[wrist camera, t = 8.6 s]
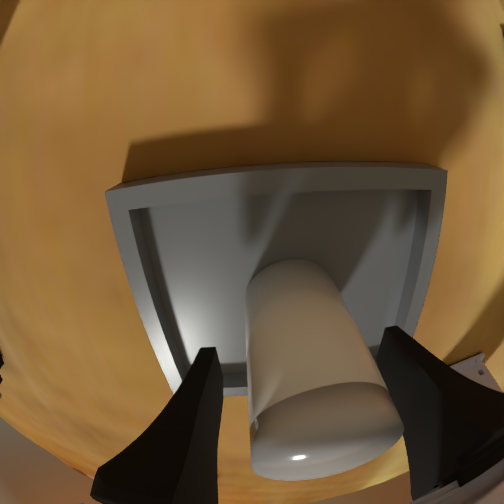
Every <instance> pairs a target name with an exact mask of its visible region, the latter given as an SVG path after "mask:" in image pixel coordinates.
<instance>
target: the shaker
mask: <svg viewBox="0 0 504 504" xmlns="http://www.w3.org/2000/svg"><path fill="white" fill-rule="evenodd" d="M244 306H245V333H246V358H247V382H248V405H249V426H250V447H251V466H252V470H253V471H254V472H255V473H256V474H258V475H260V476H262V477H265V478H269V479H275V480H288V481H292V480H308V479H315V478H321V477H326V476H330V475H334V474H338V473H341V472H344V471H347V470H350V469H353V468H355V467H358V466H360V465H362V464H364V463H367V462H369V461H371V460H372V459H374V458H376V457H378V456H379V455H381V454H383V453H384V452H385V451H387V450H388V449H389V448H391V447H392V446H393V445H394V444H395V443H396V442H397V441H398V440H399V439H400V437H401V436H402V434H403V432H404V426H403V423H402V421H401V418H400V416H399V414H398V411H397V409H396V407H395V404H394V402H393V400H392V398H391V395H390V393H389V391H388V389H387V386H386V384H385V382H384V380H383V378H382V376H381V373H380V371H379V369H378V367H377V365H376V363H375V361H374V359H373V357H372V354H371V352H370V350H369V348H368V346H367V344H366V342H365V340H364V338H363V336H362V334H361V332H360V330H359V328H358V326H357V324H356V322H355V320H354V318H353V316H352V314H351V313H350V311H349V309H348V307H347V305H346V303H345V301H344V299H343V297H342V295H341V294H340V292H339V290H338V288H337V286H336V284H335V282H334V281H333V279H332V277H331V275H330V274H329V273H328V272H327V271H326V270H325V269H324V268H323V267H322V266H320V265H319V264H317V263H315V262H312V261H309V260H304V259H288V260H282V261H279V262H276V263H273V264H271V265H269V266H267V267H266V268H264V269H263V270H261V271H260V272H259V273H258V274H257V275H256V276H255V277H254V278H253V279H252V280H251V282H250V283H249V285H248V287H247V289H246V293H245V298H244Z"/></svg>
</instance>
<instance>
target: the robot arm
mask: <svg viewBox="0 0 504 504" xmlns="http://www.w3.org/2000/svg"><path fill="white" fill-rule="evenodd" d="M484 357H485V354H484V353H480V354H478V355H476V356H474V357H471V358H469V359H466V360H464V361H461V362H459V363H456V364H454V365H451V366H448V365H447V364H445V363H444V362H442V361H441V360H440V359H438V358H437V357H436V356H434V355H433V354H432V353H430V352H429V351H428V350H427V349H425V348H424V347H423V346H422V345H421V344H419V343H418V342H417V341H416V340H415V339H413V338H412V337H411V336H410V335H408V334H407V333H406V332H405V331H404V330H402V329H401V328H400V327H399V326H397V325H395V326H390V327H385V329H384V333H383V337H382V340H381V344H380V347H379V350H378V354H377V357H376V362H377V365H378V369H379V371H380V373H381V376H382V378H383V380H384V382H385V384H386V386H387V389H388V391H389V393H390V395H391V398H392V400H393V402H394V404H395V407H396V409H397V411H398V414H399V416H400V418H401V421H402V423H403V426H404V432H403V437H404V441H405V446H406V450H407V456H408V463H409V470H410V480H411V481H410V482H411V496H412V499H413V501H412V502H410V503H407V504H504V393H503V392H502V390H501V388H500V387H499V385H498V384H497V382H496V381H495V379H494V378H493V376H492V375H491V373H490V372H489V370H488V369H487V367H486V366H485V364H484V363H483V361H482V360H483V359H484ZM222 405H223V374H222V370H221V366H220V362H219V358H218V354H217V349H216V347H201V348H200V349H199V351H198V353H197V355H196V357H195V359H194V361H193V363H192V365H191V367H190V369H189V371H188V372H187V374H186V376H185V378H184V379H183V381H182V383H181V384H180V386H179V388H178V389H177V391H176V392H175V394H174V395H173V396H172V398H171V399H170V401H169V402H168V404H167V405H166V406H165V408H164V409H163V410H162V412H161V413H160V414H159V415H158V417H157V418H156V419H155V420H154V421H153V422H152V423H151V425H150V426H149V427H148V428H147V429H146V430H145V431H144V432H143V433H142V434H141V435H140V436H139V437H138V438H137V439H136V440H135V441H133V442H132V443H131V444H130V445H129V446H128V447H126V448H125V449H124V450H123V451H122V452H120V453H119V454H118V455H117V456H115V457H114V458H112V459H111V460H109V461H108V462H106V463H105V464H104V465H102V466H100V467H99V468H98V470H97V472H96V475H95V478H94V482H93V485H92V489H91V493H90V496H91V497H92V498H93V499H95V500H96V501H98V502H100V503H102V504H218V485H217V447H218V437H219V429H220V421H221V413H222ZM80 504H84V503H80Z"/></svg>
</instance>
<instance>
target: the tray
mask: <svg viewBox="0 0 504 504" xmlns="http://www.w3.org/2000/svg"><path fill="white" fill-rule="evenodd" d="M446 184H447V170H444V169H441V168H438V167H436V166H433V165H430V164H421V163H404V162H379V161H318V162H291V163H273V164H259V165H247V166H235V167H225V168H216V169H207V170H199V171H191V172H184V173H177V174H170V175H163V176H157V177H151V178H145V179H139V180H134V181H128V182H123V183H120V184H118V185H116V186H114V187H112V188H111V189H109V190H107V191H105V195H106V200H107V205H108V209H109V213H110V218H111V222H112V226H113V230H114V234H115V237H116V241H117V245H118V248H119V252H120V255H121V259H122V262H123V266H124V269H125V272H126V275H127V278H128V282H129V285H130V288H131V291H132V294H133V297H134V299H135V302H136V305H137V308H138V311H139V313H140V316H141V319H142V321H143V324H144V327H145V329H146V332H147V334H148V337H149V339H150V342H151V344H152V347H153V349H154V351H155V354H156V356H157V358H158V361H159V363H160V365H161V367H162V370H163V372H164V374H165V376H166V378H167V381H168V383H169V385H170V387H171V389H172V391H173V393H174V394H175V392H176V391H177V389H178V388H179V386H180V384H181V383H182V381H183V379H184V378H185V376H186V374H187V372H188V371H189V369H190V367H191V365H192V363H193V361H194V359H195V357H196V355H197V353H198V351H199V349H200V348H201V347H216V349H217V354H218V358H219V362H220V366H221V370H222V374H223V396H244V395H248V382H247V358H246V333H245V306H244V298H245V293H246V289H247V287H248V285H249V283H250V282H251V280H252V279H253V278H254V277H255V276H256V275H257V274H258V273H259V272H260V271H261V270H263V269H264V268H266V267H267V266H269V265H271V264H273V263H276V262H279V261H282V260H288V259H304V260H309V261H312V262H315V263H317V264H319V265H320V266H322V267H323V268H324V269H325V270H326V271H327V272H328V273H329V274H330V275H331V277H332V279H333V281H334V282H335V284H336V286H337V288H338V290H339V292H340V294H341V295H342V297H343V299H344V301H345V303H346V305H347V307H348V309H349V311H350V313H351V314H352V316H353V318H354V320H355V322H356V324H357V326H358V328H359V330H360V332H361V334H362V336H363V338H364V340H365V342H366V344H367V346H368V348H369V350H370V352H371V354H372V357H373V359H374V361H375V363H376V365H377V362H376V357H377V354H378V350H379V347H380V344H381V340H382V337H383V333H384V329H385V327H390V326H395V325H397V326H399V327H400V328H401V329H402V330H404V331H405V332H406V333H407V334H408V335H410V336H411V337H412V338H413V335H414V332H415V329H416V326H417V323H418V320H419V317H420V314H421V311H422V307H423V304H424V301H425V297H426V294H427V290H428V286H429V282H430V278H431V274H432V270H433V266H434V261H435V257H436V252H437V247H438V242H439V236H440V231H441V224H442V218H443V211H444V203H445V194H446ZM377 367H378V365H377Z"/></svg>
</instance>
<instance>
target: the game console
mask: <svg viewBox="0 0 504 504" xmlns="http://www.w3.org/2000/svg"><path fill="white" fill-rule="evenodd" d="M3 364H4V362H3V359H2V357H1V354H0V368H1V367H2V365H3ZM1 382H2V377H1V375H0V384H1ZM1 396H2V395H1V393H0V398H1Z"/></svg>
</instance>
